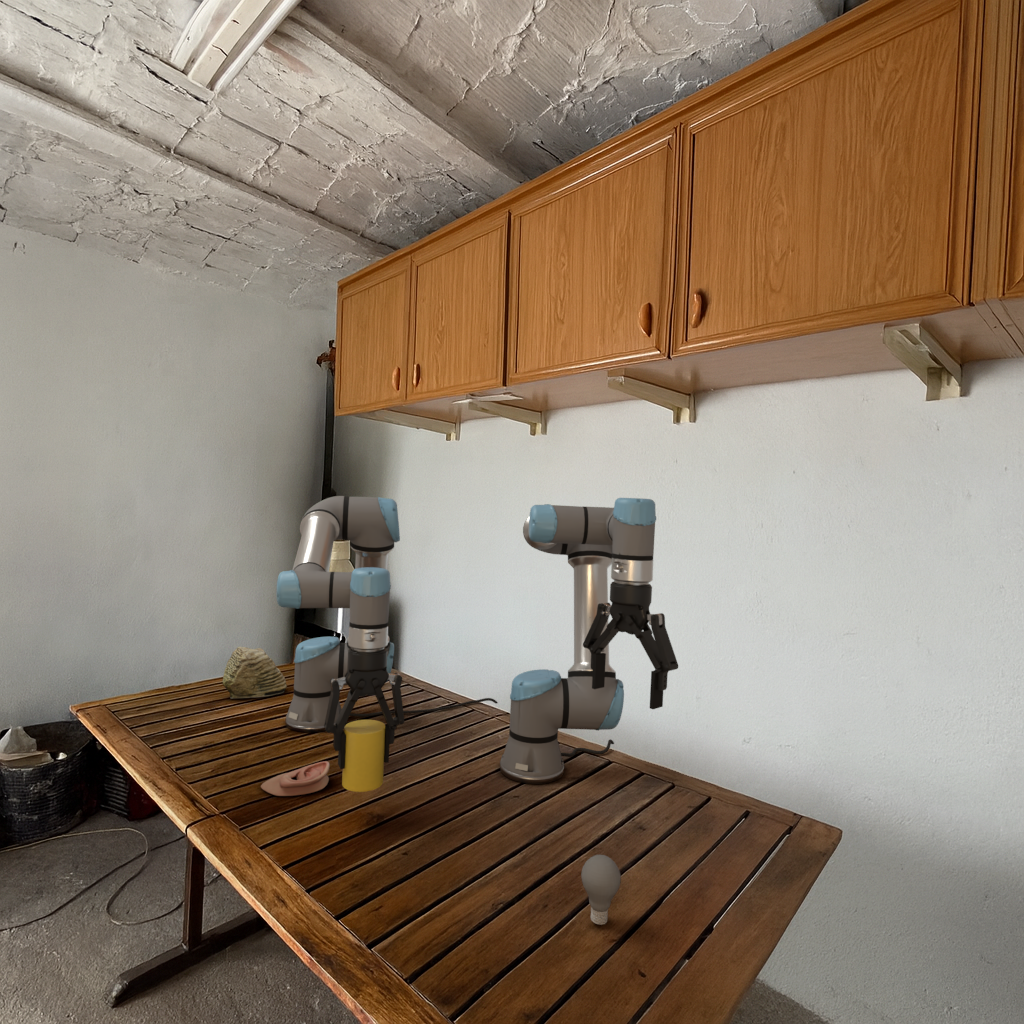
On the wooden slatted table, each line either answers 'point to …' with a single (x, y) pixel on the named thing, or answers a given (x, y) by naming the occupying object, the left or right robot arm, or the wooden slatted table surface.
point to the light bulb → (600, 885)
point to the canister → (364, 755)
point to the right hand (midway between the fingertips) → (625, 697)
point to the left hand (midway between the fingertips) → (363, 762)
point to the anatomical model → (299, 780)
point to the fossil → (252, 674)
